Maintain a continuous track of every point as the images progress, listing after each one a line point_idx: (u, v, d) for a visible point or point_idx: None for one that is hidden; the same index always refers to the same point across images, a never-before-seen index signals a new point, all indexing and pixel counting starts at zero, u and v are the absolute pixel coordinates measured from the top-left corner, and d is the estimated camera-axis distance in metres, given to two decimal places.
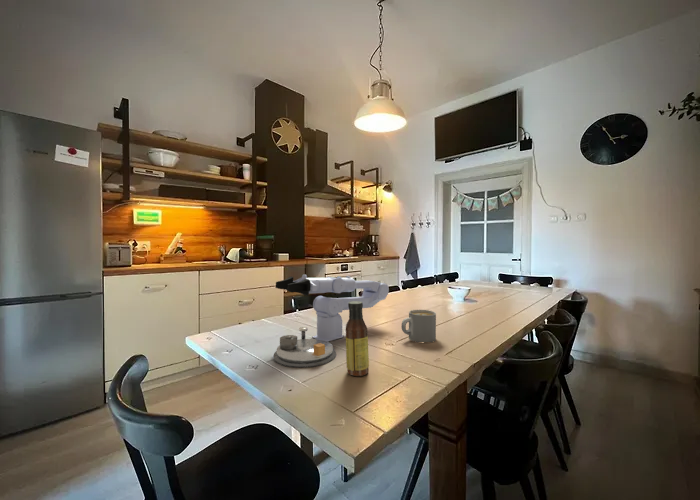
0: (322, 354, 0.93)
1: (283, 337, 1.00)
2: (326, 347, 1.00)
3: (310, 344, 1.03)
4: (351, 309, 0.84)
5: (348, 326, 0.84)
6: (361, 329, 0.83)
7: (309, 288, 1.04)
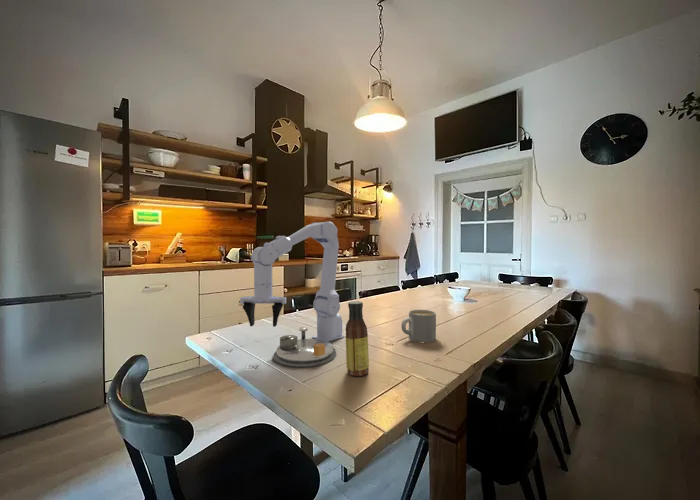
0: (322, 354, 0.93)
1: (283, 337, 1.00)
2: (326, 347, 1.00)
3: (310, 344, 1.03)
4: (351, 309, 0.84)
5: (348, 326, 0.84)
6: (361, 329, 0.83)
7: (282, 304, 1.00)
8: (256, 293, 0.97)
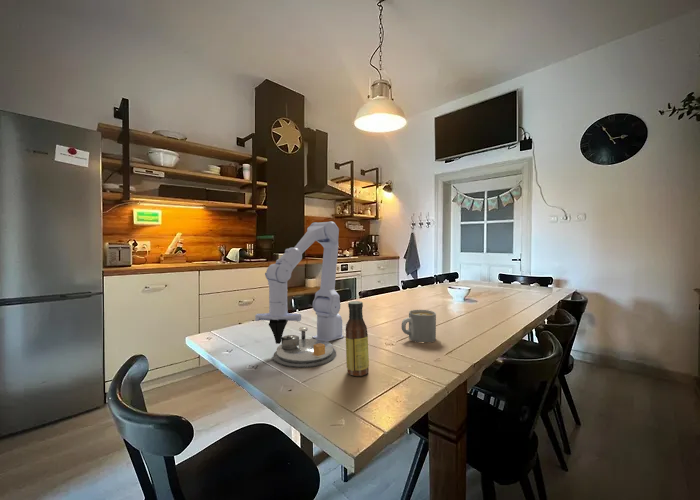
0: (322, 354, 0.93)
1: (285, 337, 1.00)
2: (326, 347, 1.00)
3: (310, 344, 1.03)
4: (351, 309, 0.84)
5: (348, 326, 0.84)
6: (361, 329, 0.83)
7: (286, 321, 1.00)
8: (271, 311, 0.97)
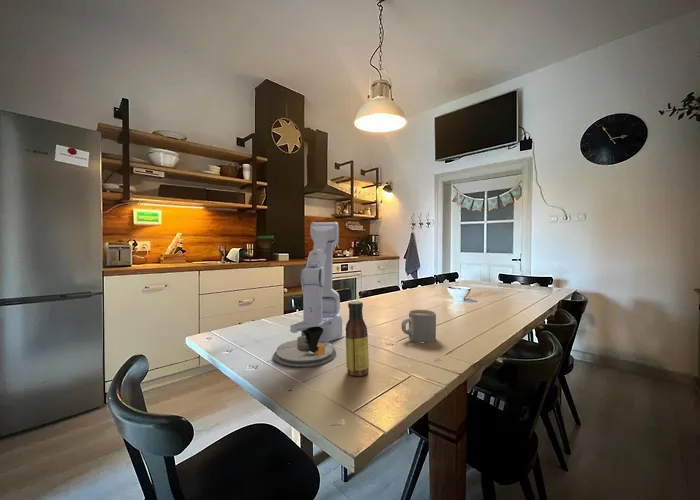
0: (322, 354, 0.93)
1: (300, 337, 1.00)
2: (326, 347, 1.00)
3: None
4: (351, 309, 0.84)
5: (348, 326, 0.84)
6: (361, 329, 0.83)
7: None
8: (313, 318, 0.90)
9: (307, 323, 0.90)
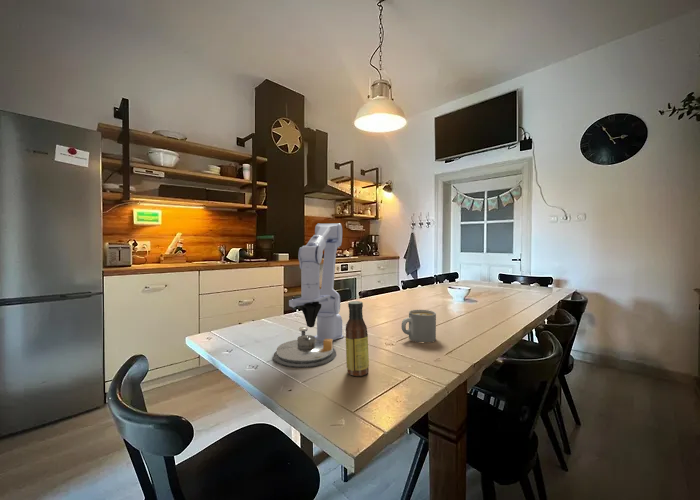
0: (332, 348, 0.99)
1: (301, 338, 0.99)
2: (322, 343, 1.04)
3: None
4: (351, 309, 0.84)
5: (348, 326, 0.84)
6: (361, 329, 0.83)
7: None
8: (311, 293, 0.94)
9: (305, 298, 0.94)
